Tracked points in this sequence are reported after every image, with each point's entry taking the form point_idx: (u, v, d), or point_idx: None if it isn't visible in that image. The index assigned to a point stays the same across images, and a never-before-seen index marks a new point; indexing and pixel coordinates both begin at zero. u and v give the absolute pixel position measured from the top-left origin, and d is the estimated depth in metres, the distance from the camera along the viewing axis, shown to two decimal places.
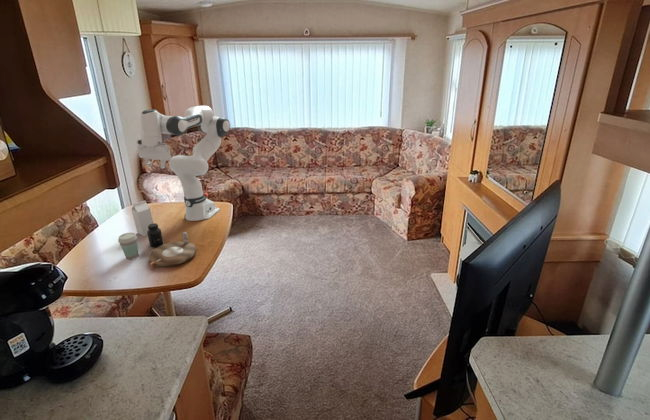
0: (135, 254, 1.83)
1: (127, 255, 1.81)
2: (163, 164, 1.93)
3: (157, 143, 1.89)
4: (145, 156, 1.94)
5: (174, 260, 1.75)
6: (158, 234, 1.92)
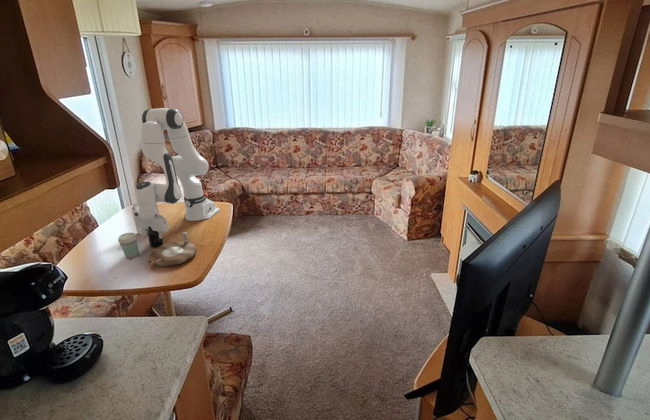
0: (135, 254, 1.83)
1: (127, 255, 1.81)
2: (161, 234, 1.91)
3: (154, 216, 1.86)
4: (143, 226, 1.92)
5: (174, 260, 1.75)
6: (158, 234, 1.92)
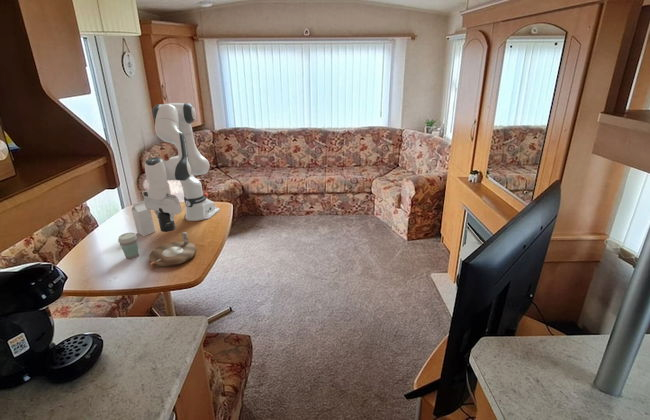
0: (135, 254, 1.83)
1: (127, 255, 1.81)
2: (172, 216, 1.73)
3: (165, 195, 1.68)
4: (153, 208, 1.74)
5: (174, 260, 1.75)
6: None
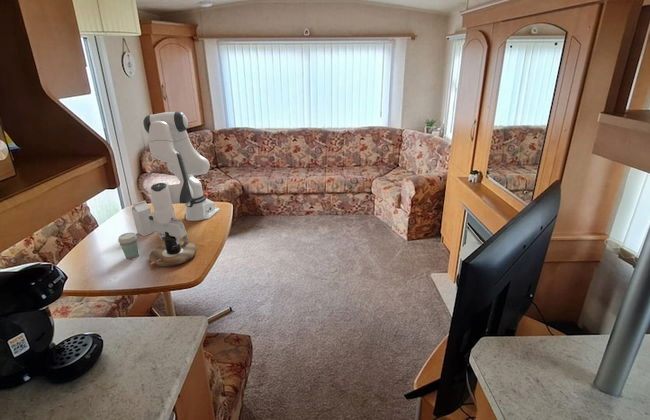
0: (135, 254, 1.83)
1: (127, 255, 1.81)
2: (178, 240, 1.78)
3: (170, 219, 1.73)
4: (158, 231, 1.79)
5: (174, 260, 1.75)
6: None
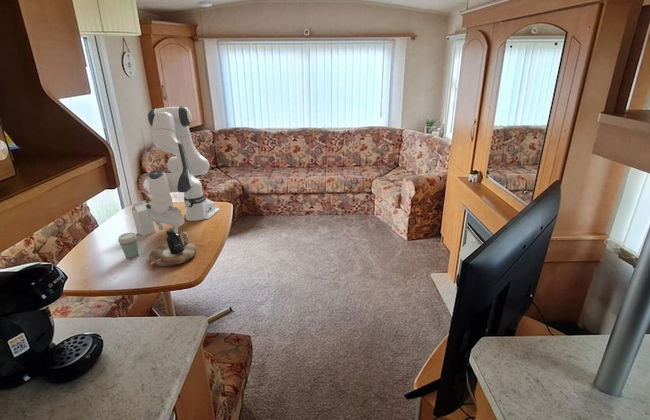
0: (135, 254, 1.83)
1: (127, 255, 1.81)
2: (176, 228, 1.75)
3: (168, 208, 1.71)
4: (156, 220, 1.77)
5: (174, 260, 1.75)
6: (178, 238, 1.78)
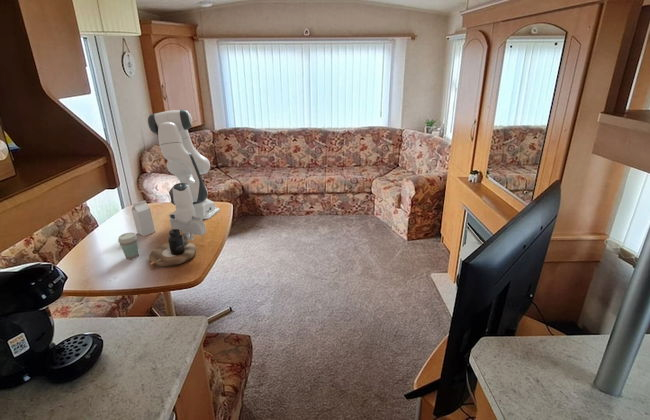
0: (135, 254, 1.83)
1: (127, 255, 1.81)
2: (192, 236, 1.87)
3: (191, 218, 1.81)
4: (179, 229, 1.87)
5: (174, 260, 1.75)
6: (180, 241, 1.78)
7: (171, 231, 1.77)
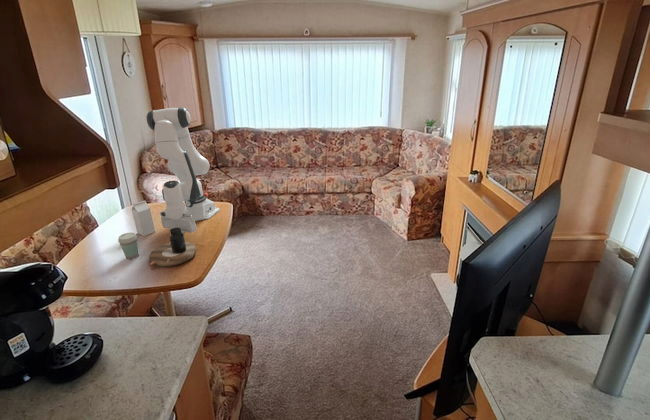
0: (135, 254, 1.83)
1: (127, 255, 1.81)
2: None
3: (182, 215, 1.83)
4: (169, 227, 1.88)
5: (184, 256, 1.78)
6: (183, 237, 1.81)
7: (173, 230, 1.78)
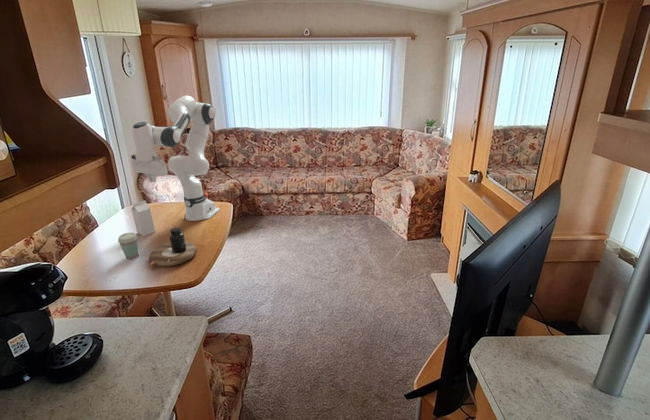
0: (135, 254, 1.83)
1: (127, 255, 1.81)
2: (154, 178, 1.86)
3: (152, 158, 1.80)
4: (141, 171, 1.86)
5: (185, 256, 1.79)
6: (183, 237, 1.81)
7: (173, 230, 1.78)
